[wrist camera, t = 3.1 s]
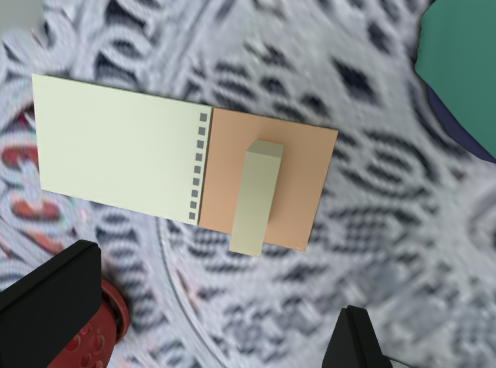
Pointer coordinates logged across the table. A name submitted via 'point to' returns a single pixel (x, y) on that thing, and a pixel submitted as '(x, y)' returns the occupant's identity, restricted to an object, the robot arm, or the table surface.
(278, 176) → the light switch
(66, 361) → the plant pot
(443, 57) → the cutlery set
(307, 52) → the table surface
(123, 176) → the pale green notepad
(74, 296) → the robot arm
